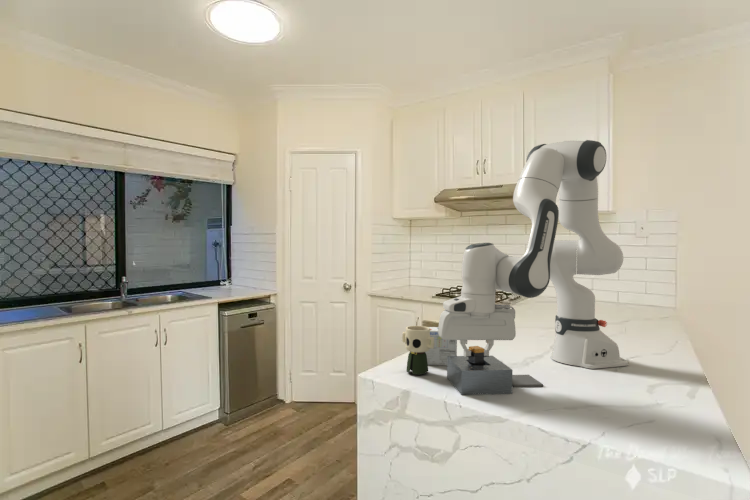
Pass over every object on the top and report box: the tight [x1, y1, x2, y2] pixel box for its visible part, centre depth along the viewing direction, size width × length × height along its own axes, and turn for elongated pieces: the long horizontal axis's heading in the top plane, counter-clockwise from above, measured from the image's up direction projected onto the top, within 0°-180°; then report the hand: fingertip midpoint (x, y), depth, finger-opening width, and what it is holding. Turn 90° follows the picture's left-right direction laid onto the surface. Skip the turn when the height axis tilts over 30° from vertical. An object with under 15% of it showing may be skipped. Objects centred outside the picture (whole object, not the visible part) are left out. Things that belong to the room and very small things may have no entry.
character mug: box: [401, 325, 434, 375], centre depth 118 cm, size 11×7×13 cm, turn 49°
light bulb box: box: [425, 326, 458, 366], centre depth 129 cm, size 11×7×11 cm, turn 84°
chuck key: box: [468, 345, 485, 366], centre depth 108 cm, size 3×3×8 cm
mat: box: [512, 374, 544, 388], centre depth 112 cm, size 8×8×1 cm
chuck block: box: [446, 355, 513, 396], centre depth 111 cm, size 13×18×6 cm
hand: (476, 356), depth 108 cm, fingers closed on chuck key, 3 cm apart
